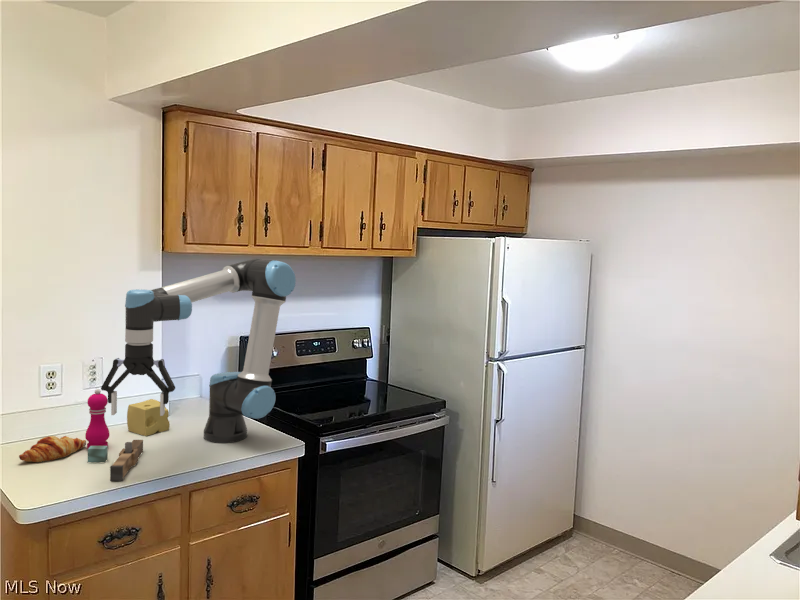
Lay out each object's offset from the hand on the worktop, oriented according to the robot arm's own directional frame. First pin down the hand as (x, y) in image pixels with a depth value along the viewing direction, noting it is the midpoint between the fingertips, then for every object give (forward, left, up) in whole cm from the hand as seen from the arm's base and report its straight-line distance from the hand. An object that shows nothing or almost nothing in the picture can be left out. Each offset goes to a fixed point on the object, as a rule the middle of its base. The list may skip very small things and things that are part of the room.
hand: (138, 414), depth 190 cm
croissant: (+29, -18, -19) cm, 39 cm away
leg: (+5, -4, -19) cm, 20 cm away
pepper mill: (+19, -25, -19) cm, 36 cm away
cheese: (+7, -43, -19) cm, 48 cm away
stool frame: (+11, -15, -19) cm, 26 cm away
